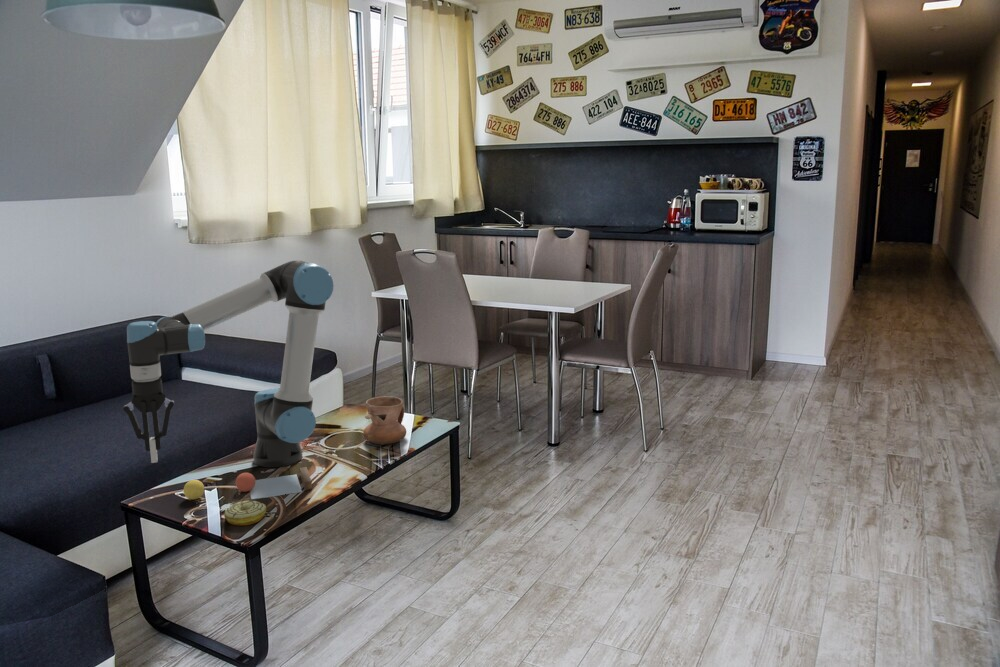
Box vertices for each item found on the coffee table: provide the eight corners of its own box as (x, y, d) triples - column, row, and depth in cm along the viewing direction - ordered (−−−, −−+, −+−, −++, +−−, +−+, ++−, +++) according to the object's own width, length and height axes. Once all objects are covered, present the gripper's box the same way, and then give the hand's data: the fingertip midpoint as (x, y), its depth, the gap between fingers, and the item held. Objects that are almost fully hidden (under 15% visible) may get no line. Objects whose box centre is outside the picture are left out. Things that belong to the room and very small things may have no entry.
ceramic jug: (382, 452, 258) (381, 410, 256) (352, 443, 267) (350, 402, 264) (419, 437, 273) (419, 398, 270) (389, 429, 281) (388, 391, 278)
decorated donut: (262, 507, 218) (261, 494, 217) (270, 522, 209) (269, 509, 208) (223, 515, 213) (221, 502, 213) (229, 531, 204) (228, 517, 203)
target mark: (296, 474, 240) (296, 474, 240) (301, 492, 227) (301, 491, 227) (248, 481, 236) (248, 481, 236) (251, 499, 223) (251, 499, 223)
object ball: (255, 486, 232) (254, 468, 231) (256, 493, 227) (255, 475, 226) (236, 488, 230) (234, 471, 229) (236, 496, 225) (235, 478, 224)
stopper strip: (307, 474, 240) (306, 466, 240) (312, 489, 229) (311, 481, 229) (300, 475, 240) (299, 467, 239) (305, 490, 229) (304, 482, 228)
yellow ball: (205, 493, 228) (203, 475, 226) (205, 500, 222) (203, 482, 221) (184, 496, 226) (182, 478, 225) (184, 503, 221) (182, 485, 219)
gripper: (118, 384, 208) (127, 468, 213) (171, 379, 212) (179, 462, 217) (121, 377, 215) (129, 459, 219) (172, 373, 219) (180, 453, 224)
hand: (154, 460), depth 218 cm, fingers closed
